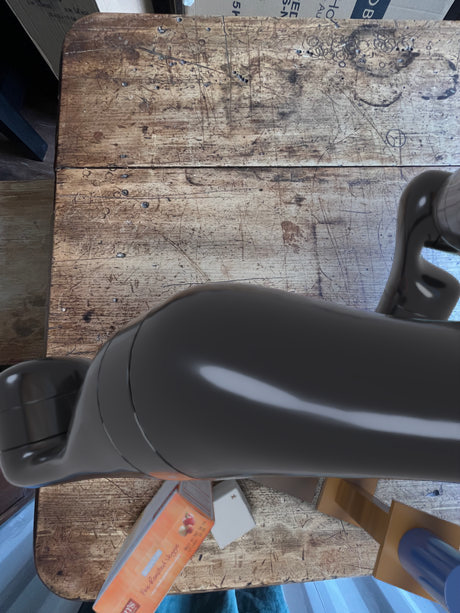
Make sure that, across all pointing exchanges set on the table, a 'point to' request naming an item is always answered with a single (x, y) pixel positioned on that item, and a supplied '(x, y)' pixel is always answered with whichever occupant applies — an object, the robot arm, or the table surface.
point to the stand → (383, 525)
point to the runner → (292, 486)
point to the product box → (230, 513)
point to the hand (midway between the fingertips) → (351, 438)
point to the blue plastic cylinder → (432, 566)
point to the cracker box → (158, 547)
